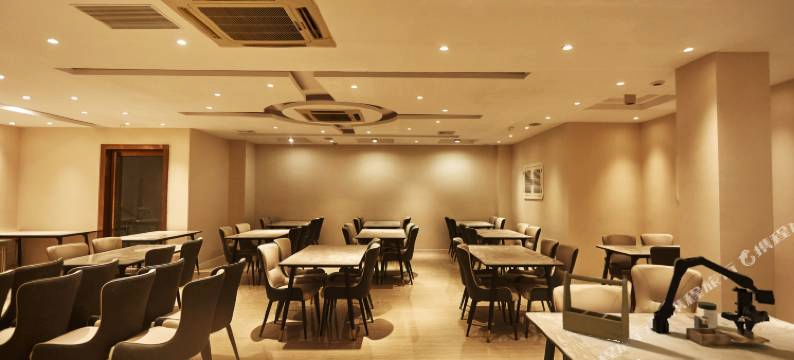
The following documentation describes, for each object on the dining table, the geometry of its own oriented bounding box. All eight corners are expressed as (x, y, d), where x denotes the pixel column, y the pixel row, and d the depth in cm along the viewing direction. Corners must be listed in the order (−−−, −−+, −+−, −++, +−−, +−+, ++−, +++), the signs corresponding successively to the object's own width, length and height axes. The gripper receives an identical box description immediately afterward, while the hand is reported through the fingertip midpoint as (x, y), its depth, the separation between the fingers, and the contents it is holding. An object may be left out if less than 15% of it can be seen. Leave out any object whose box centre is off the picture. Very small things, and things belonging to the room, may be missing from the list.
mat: (740, 349, 185) (740, 348, 185) (723, 341, 195) (723, 340, 195) (769, 349, 185) (769, 348, 185) (750, 341, 195) (750, 340, 195)
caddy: (562, 329, 210) (561, 272, 211) (569, 324, 218) (569, 269, 219) (624, 344, 190) (623, 280, 191) (629, 338, 198) (629, 277, 199)
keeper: (698, 335, 203) (698, 317, 203) (694, 333, 206) (694, 315, 206) (708, 335, 202) (708, 317, 203) (703, 333, 206) (703, 315, 206)
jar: (713, 329, 212) (712, 306, 212) (695, 325, 218) (694, 303, 219) (719, 326, 216) (719, 304, 217) (702, 322, 223) (701, 300, 224)
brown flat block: (701, 345, 189) (701, 335, 189) (686, 338, 199) (686, 327, 199) (731, 346, 189) (731, 335, 189) (714, 338, 198) (714, 328, 199)
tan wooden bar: (704, 324, 200) (704, 320, 200) (686, 316, 213) (685, 312, 213) (709, 324, 200) (709, 320, 200) (690, 316, 213) (690, 312, 213)
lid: (739, 344, 185) (739, 333, 185) (722, 336, 195) (722, 326, 195) (769, 344, 185) (769, 333, 185) (750, 336, 195) (750, 326, 195)
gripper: (739, 306, 183) (739, 340, 182) (780, 306, 182) (781, 341, 182) (719, 299, 194) (720, 332, 193) (758, 300, 194) (759, 332, 193)
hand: (745, 334), depth 190 cm, fingers closed on lid, 3 cm apart
